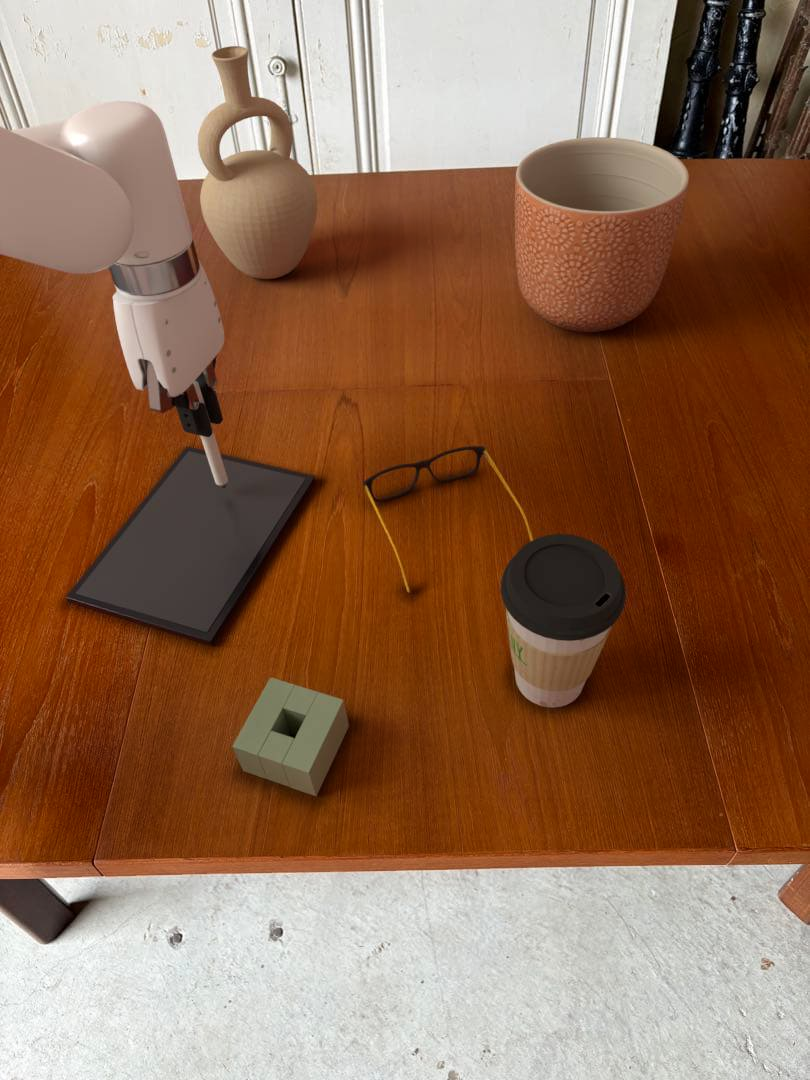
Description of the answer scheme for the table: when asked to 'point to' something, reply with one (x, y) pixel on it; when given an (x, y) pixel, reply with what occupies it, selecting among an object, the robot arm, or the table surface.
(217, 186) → the vase
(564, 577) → the coffee cup
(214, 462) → the stylus
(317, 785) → the stylus holder
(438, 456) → the eyeglasses
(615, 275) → the planter
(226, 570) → the tablet
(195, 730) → the table surface
